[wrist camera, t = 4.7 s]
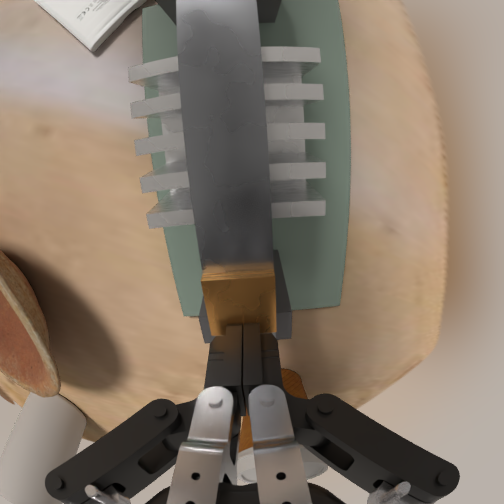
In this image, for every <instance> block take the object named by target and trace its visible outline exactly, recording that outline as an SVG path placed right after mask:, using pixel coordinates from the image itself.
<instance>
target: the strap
mask: <svg viewBox="0 0 504 504" xmlns="http://www.w3.org/2000/svg"><path fill="white" fill-rule="evenodd" d="M176 21H177V51H178V70H179V86H180V100H181V112H182V123H183V134H184V143H185V153H186V162H187V170H188V179H189V186H190V194H191V202H192V209H193V216H194V223H195V229H196V236H197V242H198V249H199V255H200V261H201V267H202V273H203V275H202V278H201V285H202V291H203V296H204V301H205V306H206V311H207V316H208V321H209V326H210V330H211V335H212V336H226V325H227V324H243V330H244V323H259V324H260V334H262V333H272V334H273V335H274V337H275V338H276V332H277V328H276V287H275V273H274V258H273V233H272V211H271V190H270V171H269V154H268V137H267V122H266V107H265V93H264V80H263V67H262V55H261V44H260V32H259V21H258V11H257V1H256V0H176Z"/></svg>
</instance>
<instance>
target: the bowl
mask: <svg viewBox="0 0 504 504" xmlns="http://www.w3.org/2000/svg"><path fill="white" fill-rule="evenodd" d="M0 371H1V372H2V373H3V374H4V375H6V376H7V377H8V378H9V379H11V380H12V381H14V382H15V383H16V384H18V385H19V386H21V387H22V388H24V389H26V390H28V391H30V392H32V393H34V394H37V395H38V396H40V397H43V398H45V397H53V396H56V395H57V394H58V393H59V391H60V387H61V382H60V377H59V373H58V369H57V365H56V363H55V360H54V358H53V356H52V354H51V352H50V341H49V333H48V328H47V324H46V320H45V318H44V315H43V312H42V310H41V308H40V306H39V304H38V301H37V298H36V296H35V293H34V291H33V289H32V288H31V286H30V284H29V282H28V280H27V279H26V277H25V276H24V274H23V273H22V272H21V271H20V269H19V268H18V267H17V266H16V265H15V264H14V263H13V262H12V261H11V260H10V259H8V258H7V257H6V256H5V254H4V253H3V252H2V251H1V250H0Z"/></svg>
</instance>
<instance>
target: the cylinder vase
mask: <svg viewBox="0 0 504 504" xmlns="http://www.w3.org/2000/svg"><path fill="white" fill-rule="evenodd" d="M86 424H87V421H86V418H85V416H84V415H83V413H82V412H81V411H80V410H79V409H78V408H77V407H76V406H75V405H74V404H72V403H71V402H70V401H68V400H67V399H66V398H64V397H63V396H61V395H59V394H57V395H56V396H53V397H45V398H43V397H40V396H38V395H37V394H34V393H32V392H30V394H29V396H28V398H27V400H26V402H25V404H24V406H23V408H22V410H21V412H20V414H19V416H18V418H17V420H16V423H15V425H14V427H13V430H12V431H11V434H10V436H9V438H8V441H7V443H6V446H5V448H4V450H3V453H2V456H1V458H0V495H1V496H3V497H4V498H5V499H7V500H8V501H10V502H11V503H13V504H62V503H63V502H61V501H59V500H57V499H55V498H53V497H52V496H51V495H50V494H49V493H48V492H47V490H46V487H45V478H46V476H47V474H48V473H49V472H50V471H52V470H53V469H55V468H56V467H58V466H60V465H61V464H63V463H64V462H66V461H68V460H69V459H71V458H72V457H74V456H75V455H76V453H77V450H78V447H79V444H80V441H81V438H82V435H83V432H84V430H85V427H86Z"/></svg>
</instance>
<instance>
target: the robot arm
mask: <svg viewBox="0 0 504 504" xmlns="http://www.w3.org/2000/svg"><path fill="white" fill-rule="evenodd" d="M246 407H247V413H248V416H250V422H251V431H252V439H253V452H254V460H255V469H256V477H257V482H256V483H252V484H248V485H244V486H238V485H237V461H238V451H239V442H240V428H241V416H246ZM299 444H300V445H303V446H304V447H305V448H306V449H307V450H308V451H310V452H311V453H312V454H314V455H315V456H316V457H318V458H319V459H320V460H322V461H323V462H324V463H326V464H327V465H328V466H330V467H331V468H333V469H334V470H335V471H337V472H338V473H340V474H341V475H343V476H344V477H345V478H347V479H349V480H350V481H351V482H353V483H355V484H356V485H357V486H359V487H361V488H362V489H364V490H366V491H367V492H368V493H370V495H369V497H368V500H367V504H434V503H435V502H436V501H437V500H439V499H441V498H443V497H444V496H446V495H448V494H450V493H451V492H452V491H453V490H454V489H455V488H456V487H457V485H458V482H459V478H460V475H459V471H458V469H457V467H456V466H454V465H453V464H452V463H449V462H448V461H446V460H443V459H442V458H440V457H438V456H436V455H434V454H432V453H430V452H428V451H426V450H424V449H423V448H421V447H419V446H417V445H415V444H413V443H412V442H410V441H408V440H406V439H405V438H403V437H401V436H399V435H398V434H396V433H394V432H392V431H391V430H389V429H387V428H386V427H384V426H382V425H381V424H379V423H377V422H376V421H374V420H372V419H370V418H369V417H368V416H366V415H364V414H363V413H361V412H360V411H358V410H356V409H355V408H353V407H352V406H350V405H349V404H347V403H346V402H344V401H343V400H341V399H340V398H338V397H336V396H334V395H331V394H319V395H317V396H315V397H313V398H312V399H311V400H310V399H303V398H298V397H295V396H292V395H290V394H289V393H288V392H287V391H286V390H285V388H284V386H283V382H282V374H281V366H280V358H279V350H278V342H277V339H276V338H275V337H274V335H273V334H272V333H262V334H260V324H259V323H244V330H243V324H227V325H226V336H215V338H214V339H213V341H212V342H211V343H210V349H209V356H208V363H207V371H206V378H205V385H204V390H203V391H202V392H201V393H200V394H199V396H198V397H197V398H196V399H194V400H192V401H190V402H186V403H182V404H177V405H175V404H174V403H173V402H172V401H170V400H167V399H157V400H154V401H152V402H150V403H149V404H147V405H146V406H145V407H143V408H142V409H141V410H139V411H138V412H137V413H135V414H134V415H133V416H131V417H130V418H128V419H127V420H126V421H124V422H123V423H122V424H120V425H119V426H117V427H116V428H115V429H113V430H112V431H110V432H109V433H108V434H106V435H105V436H103V437H102V438H100V439H99V440H98V441H96V442H95V443H93V444H92V445H90V446H89V447H87V448H86V449H84V450H83V451H81V452H80V453H78V454H77V455H75V456H74V457H72V458H71V459H69V460H68V461H66V462H64V463H63V464H61V465H60V466H58V467H56V468H55V469H53V470H52V471H50V472H49V473H48V474H47V476H46V478H45V487H46V490H47V492H48V493H49V494H50V495H51V496H52V497H53V498H55V499H57V500H59V501H61V502H63V503H64V504H131V503H130V500H129V499H130V498H132V497H133V496H135V495H136V494H137V493H139V492H140V491H141V490H143V489H144V488H145V487H147V486H148V485H149V484H151V483H152V482H153V481H155V480H156V479H157V478H158V477H159V476H161V475H162V474H163V473H165V472H166V471H167V470H168V469H170V468H171V467H172V466H173V465H175V464H176V465H175V469H174V473H173V477H172V482H171V486H169V487H167V488H165V489H163V490H162V491H160V492H159V493H158V494H156V495H155V496H154V497H153V498H152V499H150V500H149V501H148V502H147V503H145V504H345V503H344V502H343V501H341V500H340V499H339V498H337V497H336V496H335V495H333V494H332V493H331V492H329V491H328V490H326V489H325V488H323V487H321V486H318V485H315V484H312V483H308V482H307V478H306V474H305V470H304V465H303V461H302V456H301V452H300V448H299Z"/></svg>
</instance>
